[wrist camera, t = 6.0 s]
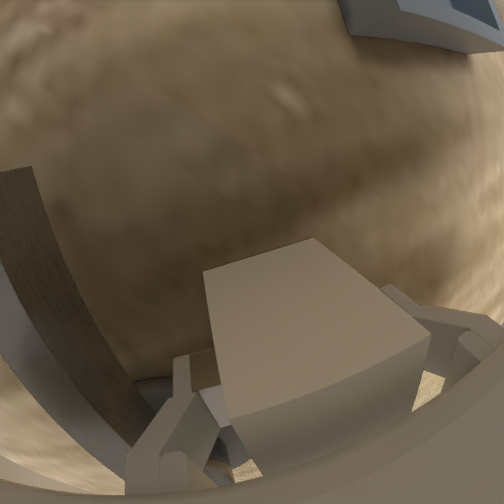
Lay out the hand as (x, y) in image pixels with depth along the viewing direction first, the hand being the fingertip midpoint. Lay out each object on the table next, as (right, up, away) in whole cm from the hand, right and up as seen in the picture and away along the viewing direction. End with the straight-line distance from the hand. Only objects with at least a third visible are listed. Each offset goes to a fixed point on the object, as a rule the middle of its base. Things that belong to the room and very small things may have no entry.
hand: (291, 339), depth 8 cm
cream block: (-1, +1, +2) cm, 2 cm away
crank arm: (-6, -2, 0) cm, 6 cm away
